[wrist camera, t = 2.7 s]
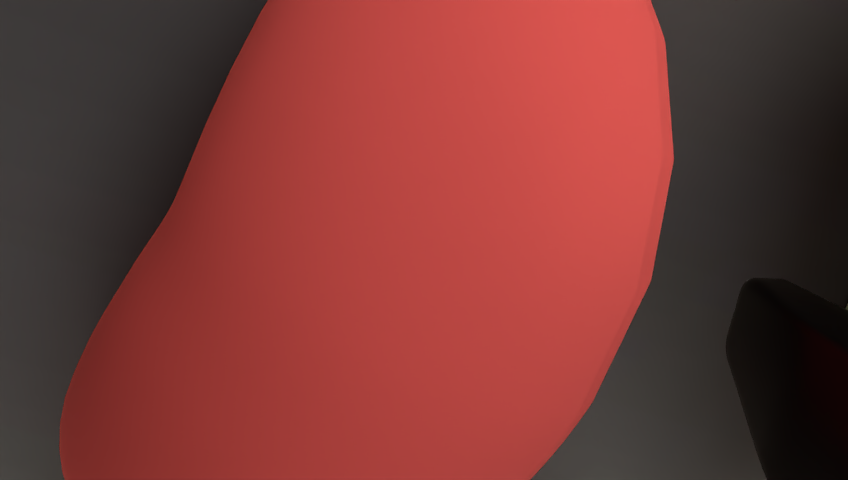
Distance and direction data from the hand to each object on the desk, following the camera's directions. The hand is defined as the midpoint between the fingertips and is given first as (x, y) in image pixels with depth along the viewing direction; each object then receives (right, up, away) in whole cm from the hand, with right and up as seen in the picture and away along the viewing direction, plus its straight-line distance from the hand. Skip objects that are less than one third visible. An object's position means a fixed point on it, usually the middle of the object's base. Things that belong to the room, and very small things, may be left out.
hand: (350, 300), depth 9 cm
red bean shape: (0, +1, +2) cm, 3 cm away
